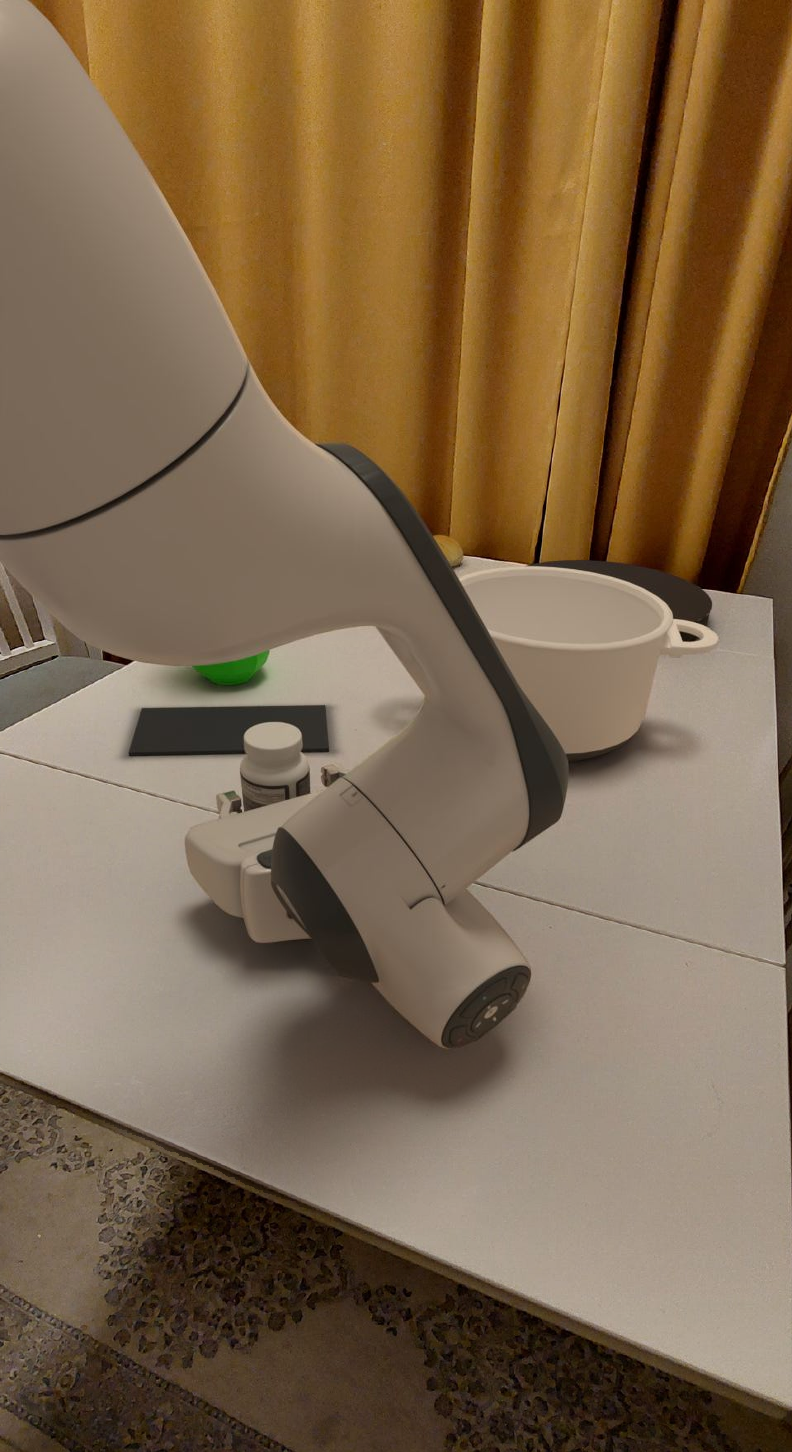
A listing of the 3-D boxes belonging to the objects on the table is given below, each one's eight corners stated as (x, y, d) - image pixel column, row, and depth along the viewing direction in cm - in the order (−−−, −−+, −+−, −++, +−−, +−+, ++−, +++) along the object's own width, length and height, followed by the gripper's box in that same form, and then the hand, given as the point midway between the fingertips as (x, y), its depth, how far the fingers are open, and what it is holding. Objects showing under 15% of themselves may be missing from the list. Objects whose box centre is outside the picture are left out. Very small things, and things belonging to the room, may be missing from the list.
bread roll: (397, 561, 137) (398, 536, 135) (436, 552, 142) (437, 527, 140) (432, 574, 132) (434, 548, 130) (471, 564, 137) (473, 538, 135)
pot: (675, 692, 100) (705, 576, 92) (707, 794, 81) (748, 660, 73) (400, 669, 103) (404, 555, 94) (371, 762, 84) (373, 630, 76)
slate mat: (128, 755, 84) (128, 752, 83) (142, 711, 91) (141, 707, 91) (329, 751, 86) (329, 748, 85) (325, 708, 94) (325, 704, 93)
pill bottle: (284, 810, 77) (278, 711, 71) (325, 837, 73) (323, 736, 67) (233, 834, 73) (222, 732, 67) (273, 863, 70) (266, 759, 64)
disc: (494, 642, 111) (496, 620, 109) (498, 572, 134) (500, 553, 133) (725, 660, 108) (732, 637, 107) (688, 585, 132) (693, 566, 130)
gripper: (480, 799, 63) (385, 724, 72) (225, 879, 54) (155, 782, 63) (472, 866, 67) (384, 787, 76) (233, 951, 58) (166, 850, 67)
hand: (278, 785), depth 70 cm, fingers open, 8 cm apart
